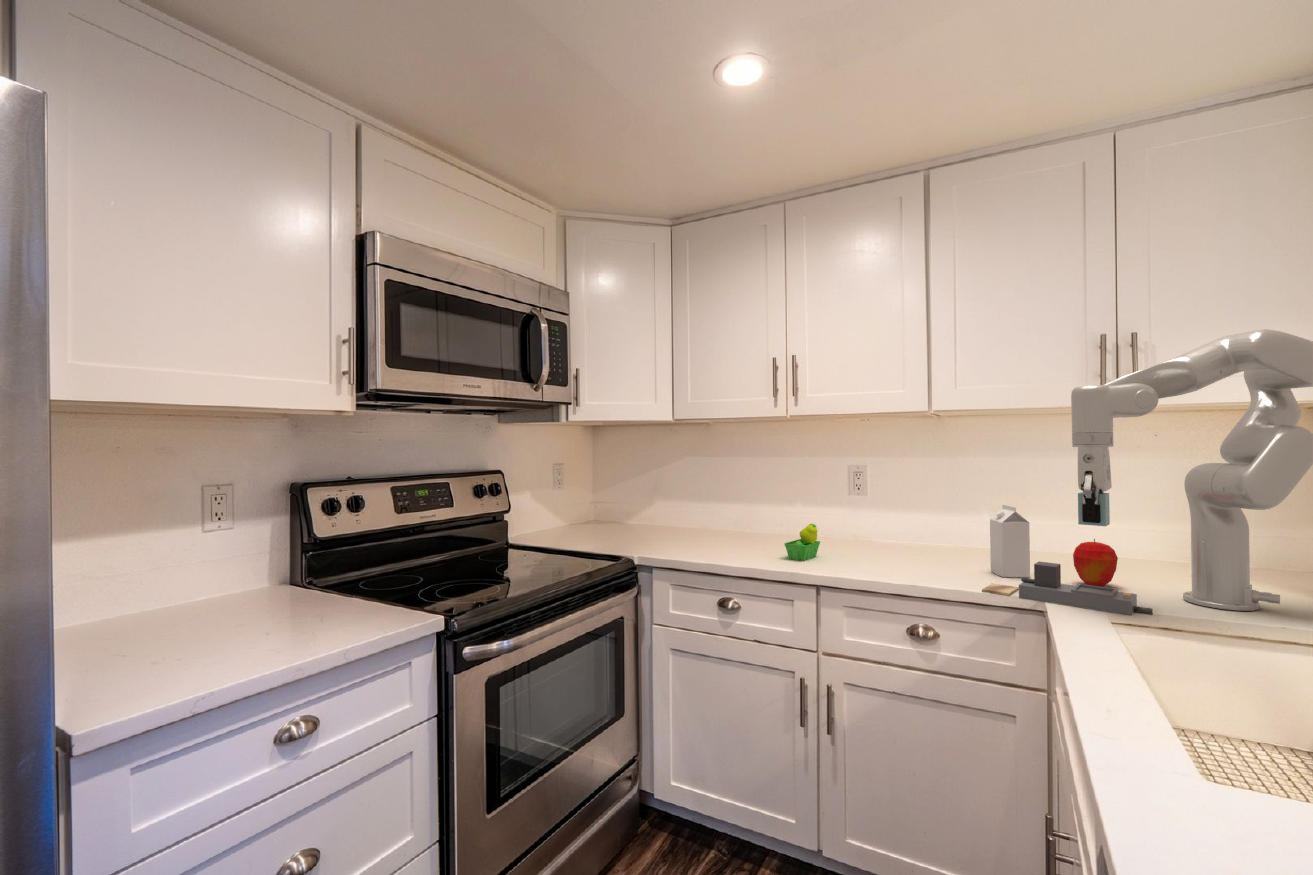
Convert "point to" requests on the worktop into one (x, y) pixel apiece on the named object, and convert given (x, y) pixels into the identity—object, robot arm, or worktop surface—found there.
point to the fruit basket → (804, 544)
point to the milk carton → (1009, 543)
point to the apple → (1095, 563)
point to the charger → (1103, 510)
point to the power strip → (1076, 592)
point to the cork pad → (1000, 589)
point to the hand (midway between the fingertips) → (1093, 520)
